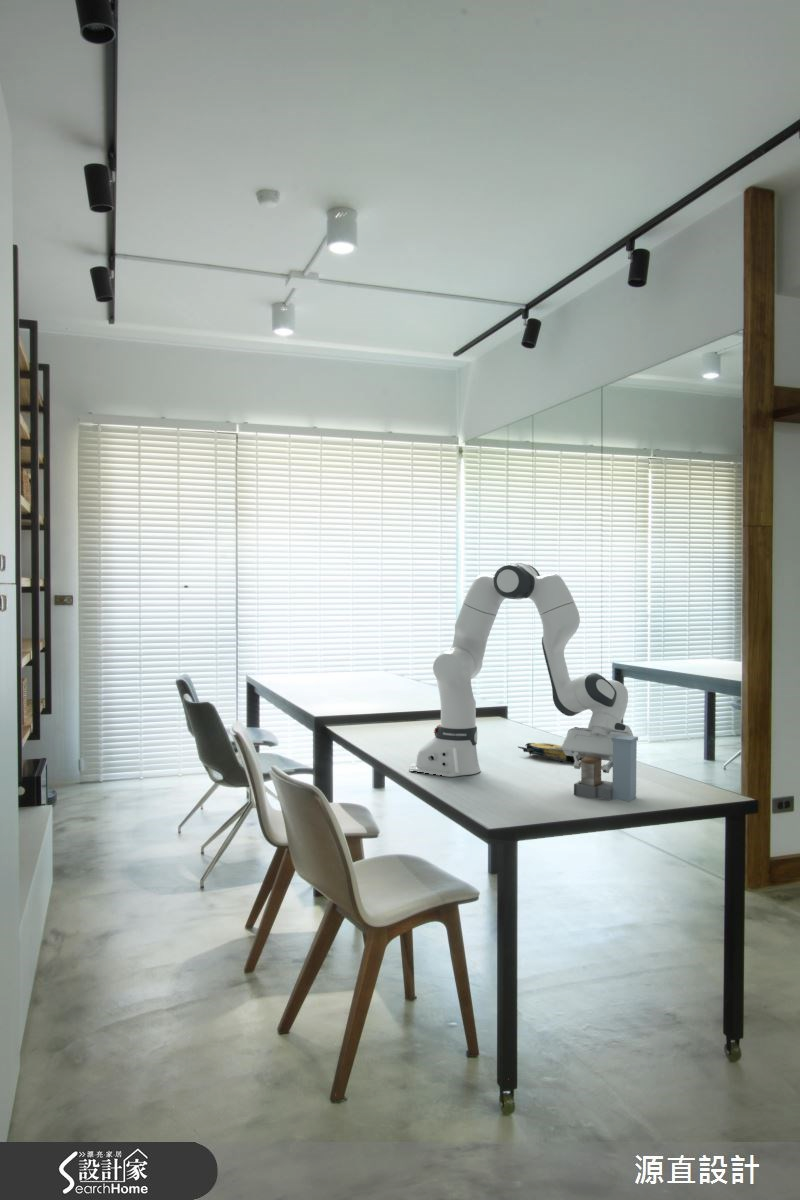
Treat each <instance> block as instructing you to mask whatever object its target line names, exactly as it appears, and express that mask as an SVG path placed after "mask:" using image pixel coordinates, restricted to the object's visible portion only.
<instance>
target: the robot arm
mask: <svg viewBox="0 0 800 1200" xmlns="http://www.w3.org/2000/svg"><path fill="white" fill-rule="evenodd" d="M505 599H508V600H509V599H510V600H515V601H516V600H522V599H529V600H531V601H532V602H533V603H534V605H535V606H536V609H537V612H538V615H539V617H540V619H541V624H542V633H543V634H542V635H543V636H542V638H541V646H542V652H543V655H544V659H545V664H546V668H547V672H548V675H549V676H548V677H549V680H550V683H551V691H552V701H553V705H554V706H555V708H556V709H557V710H558V711H559V712H560V713H562V714H563V715H565V716H567V717H573V716H575V715H578V714H579V713H582V712H584V711H587V710H590V711H592V712H591V713H592V714H591V717H590V720H589V723H588V725H587V726H588V727H578V726H575V727H573V728H570V729H568V730H567V734H566V736H565V738H564V739H563V742H562V744H561V746H562V749H563V751H564V753H565V755H567V756H573V757H574V760H575V762H574V763H573V768H574V769H575V770H581V763H580V760H579V759H580V757H583V758H585V757H587V756H591V757H599V758H601V760H602V761H608V763H606V764H605V763H604V764H603V765H602V767H601V772H602V773H605V774H609V773H610V770H611V769H613V741H612V737H614V736H617V735H626V736H634V734H633V732H632V729H631V727H630V726H629V725H627V724H624V723H622V719H623V718H624V717H625V714H626V711H627V707H628V702H629V691H628V689H627V687H626V686H625V685H624V684H623V683H621V682H620V681H618V680H614V679H610V680H609V679H606V678H605V677H604V676H602V675H601V674H600V673H596V672H591V673H589V674H584V675H583V676H579V677H578V678H575V679H571V678H570V674H569V671H568V666H567V663H566V659H565V649H566V646H567V644H568V643H569V641H570V640H571V639H572V638H573V636H574V635H575V634H576V633H577V630H578V629H579V626H580V623H581V617H580V613H579V610H578V607H577V605H576V602H575V600H574V598H573V596H572V593H571V592H570V589H569V588H568V586H567V584H566V582H565V581H564V580H563V577H561V576H560V575H559V574H557V573H552V572H551V573H545V574H542V575H540V573H539V571H538V570H537V569H536V568H535V567H534V566H532V565H530V564H526V563H521V562H514V563H512V562H511V563H506V564H504V565H502V566H501V567H498V569H497V570H496V571H495V573H494V574H490V573H481V574H479V575H477V576H476V577H475V579H474V580H473V581H472V584H471V585H470V587H469V588H468V591H467V593H466V595H465V597H464V601H463V602H462V606H461V609H460V611H459V613H458V616H457V619H456V620H455V621H456V622H455V624H454V636H453V640H452V641H453V642H452V644H451V647H450V649H446V650H445V651H442V652H441V653H439V655H438V656H437V657H436V658H435V660H434V662H433V666H432V671H433V674H434V676H435V678H436V682H437V687H438V692H439V693H438V694H439V700H440V724H438V725H436V727H435V728H434V729H433V733H434V736H435V737H433V738H432V739H431V740H429V741H428V742H427V743H425V744H424V745H423V746H422V747H420V748H419V750H418V752H417V754H416V760H415V762H413V763H411V764H410V765H409V769H410V770H413V771H419V772H424V773H423V774H425V773H429V774H428V775H433V774H436V775H435V776H440V775H442V777H448V778H451V777H452V778H455V777H459V776H469V775H475V774H478V773H480V772H481V770H482V769H481V766H480V763H479V759H478V749H477V745H478V727H477V724H476V723H477V720H476V718H477V717H476V713H477V709H476V708H477V707H476V706H477V705H476V703H477V702H476V699H475V697H474V693H473V688H472V679H474V678H475V677H477V676H478V675H479V673H480V672H481V669H482V667H483V660H484V656H485V653H486V647H487V643H488V640H489V639H488V638H489V637H490V633H491V632H492V631H491V630H492V628H493V626H494V622H495V620H496V618H497V615H498V613H499V609H500V606H501V605H502V604H503V602H504V600H505ZM577 759H578V760H579V761H578V760H577ZM410 770H409V771H410Z"/></svg>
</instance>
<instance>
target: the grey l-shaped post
mask: <svg viewBox="0 0 800 1200" xmlns="http://www.w3.org/2000/svg"><path fill="white" fill-rule="evenodd" d="M612 741H613V767H612V781H609V780H608V781H607V780H601V784H600V785H599V786H597V787H595V786H588V785H581V780H579V781H577V782H575V783H573V795H574V796H579V797H585V796H586V797H585V798H593V799H598V798H599V799H600V800H605V799H606V800H607V801H612V800H616V799H618V800H617V801H623V800H625V801H624V802H632V801H634V800H635V799H636V798H637V754H638V753H637V745H638V744H637V742H638V741H639V736H635V735H633V736H626V735H617V736H614V737H612ZM634 798H635V799H634ZM599 799H598V800H599ZM631 800H632V801H631Z"/></svg>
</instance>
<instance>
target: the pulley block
mask: <svg viewBox="0 0 800 1200" xmlns="http://www.w3.org/2000/svg"><path fill="white" fill-rule="evenodd" d="M517 748H518V749H521V750H522V751H523V753H528V754H529V755H530V756H532V755H534V756H538V757H542V758H547V759H551V760H556V761H560V763H563V762H565V763H571V764H574V762H575V760H574V757H573V756H567V755H565V753H564V751H563V749H562V745H558V744H554V743H546V742H545V743H544V742H543V743H541V742H540V743H536V742H527V743H526V744H525V746H524V747H523V746H517ZM581 759H583V757H580V759H579V760H578V759H577V760H578V761H580V763H581ZM602 761H603V760H601V762H602Z"/></svg>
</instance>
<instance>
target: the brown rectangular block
mask: <svg viewBox="0 0 800 1200" xmlns="http://www.w3.org/2000/svg"><path fill="white" fill-rule="evenodd" d="M580 772H581V773H580V775H581V779H580V781H581V785H588V786H595V787H597V786H599V785H600V784H601V781H602V761H601V758H599V757H591V756H587V757H585V758H583V759H581V767H580Z"/></svg>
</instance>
